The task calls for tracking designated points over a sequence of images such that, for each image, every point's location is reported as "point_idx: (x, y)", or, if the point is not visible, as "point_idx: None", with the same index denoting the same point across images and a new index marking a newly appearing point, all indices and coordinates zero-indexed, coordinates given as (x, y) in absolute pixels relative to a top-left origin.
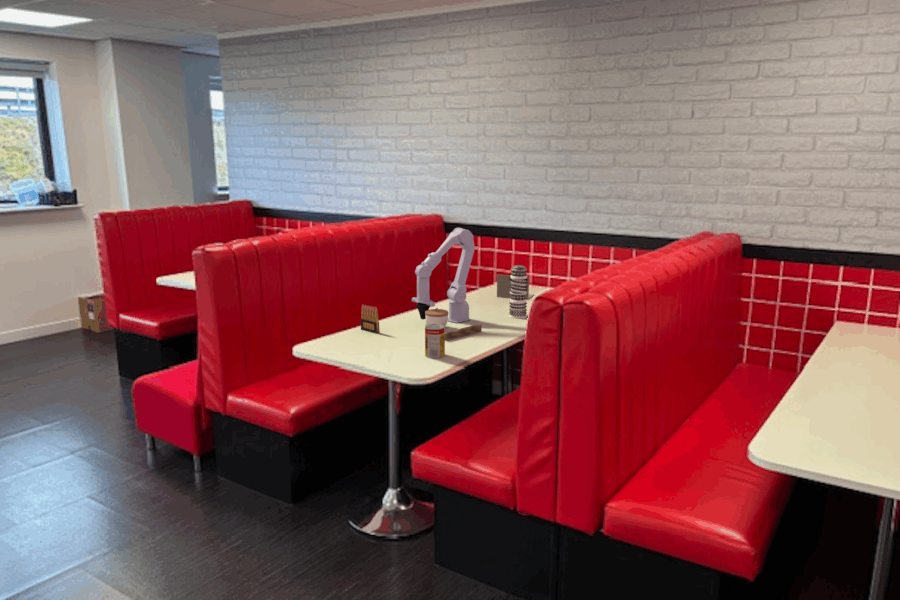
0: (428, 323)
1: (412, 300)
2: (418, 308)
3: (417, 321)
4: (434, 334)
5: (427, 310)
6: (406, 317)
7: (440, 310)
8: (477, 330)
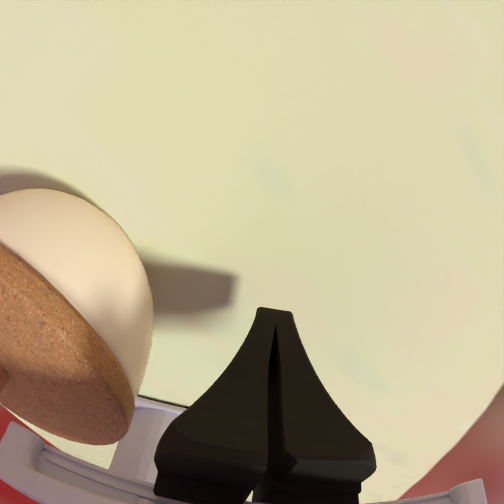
0: (38, 189)
1: (476, 495)
2: (312, 415)
3: (376, 319)
4: None
5: (82, 378)
6: (493, 341)
7: (22, 404)
8: None
